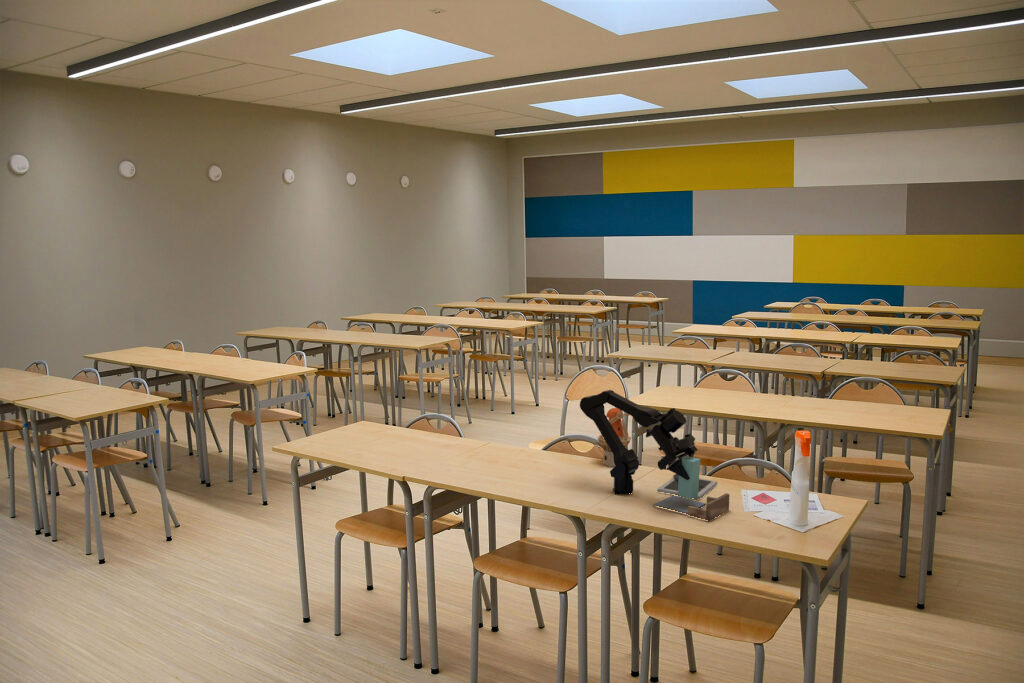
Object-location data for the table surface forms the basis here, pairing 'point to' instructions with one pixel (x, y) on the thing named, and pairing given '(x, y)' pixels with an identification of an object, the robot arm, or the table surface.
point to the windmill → (617, 425)
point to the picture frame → (673, 486)
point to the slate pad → (679, 504)
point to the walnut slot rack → (711, 508)
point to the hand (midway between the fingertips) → (692, 477)
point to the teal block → (690, 486)
